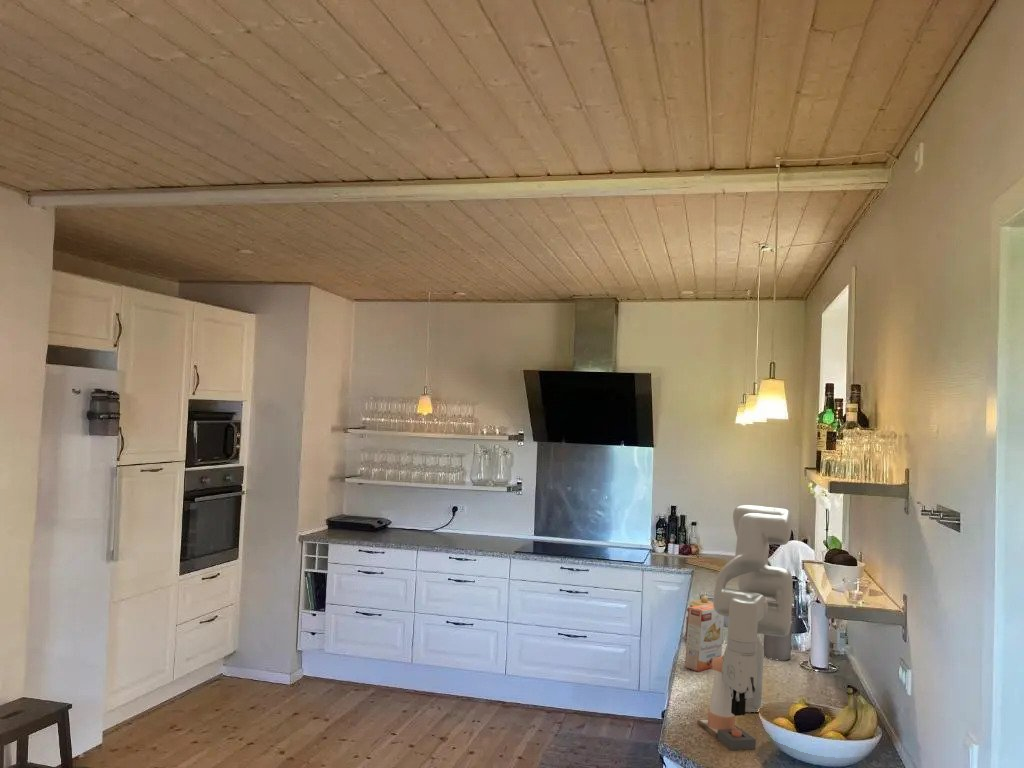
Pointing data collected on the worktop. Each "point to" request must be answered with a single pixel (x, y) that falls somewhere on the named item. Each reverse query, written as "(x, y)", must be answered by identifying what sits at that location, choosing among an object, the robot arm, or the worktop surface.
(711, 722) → the salt shaker
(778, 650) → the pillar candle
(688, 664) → the cracker box
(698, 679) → the worktop surface
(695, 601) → the canister
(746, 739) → the button housing
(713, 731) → the drawing board
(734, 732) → the button
